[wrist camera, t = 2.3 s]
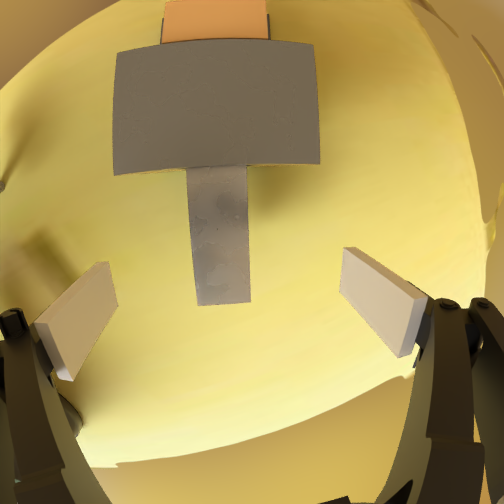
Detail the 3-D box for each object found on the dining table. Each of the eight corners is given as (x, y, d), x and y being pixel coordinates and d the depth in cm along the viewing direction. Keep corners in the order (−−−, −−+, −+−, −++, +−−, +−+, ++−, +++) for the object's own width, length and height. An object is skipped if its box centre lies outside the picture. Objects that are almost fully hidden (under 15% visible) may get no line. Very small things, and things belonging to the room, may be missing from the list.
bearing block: (274, 166, 27) (320, 164, 15) (159, 172, 26) (113, 175, 14) (272, 94, 25) (313, 44, 13) (158, 99, 24) (117, 53, 11)
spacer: (258, 61, 18) (268, 38, 14) (171, 65, 17) (161, 43, 13) (256, 24, 17) (265, -2, 12) (173, 27, 16) (166, 2, 12)
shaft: (245, 281, 24) (250, 302, 20) (200, 284, 24) (198, 305, 20) (237, 6, 16) (241, -18, 13) (193, 7, 16) (190, -16, 12)
